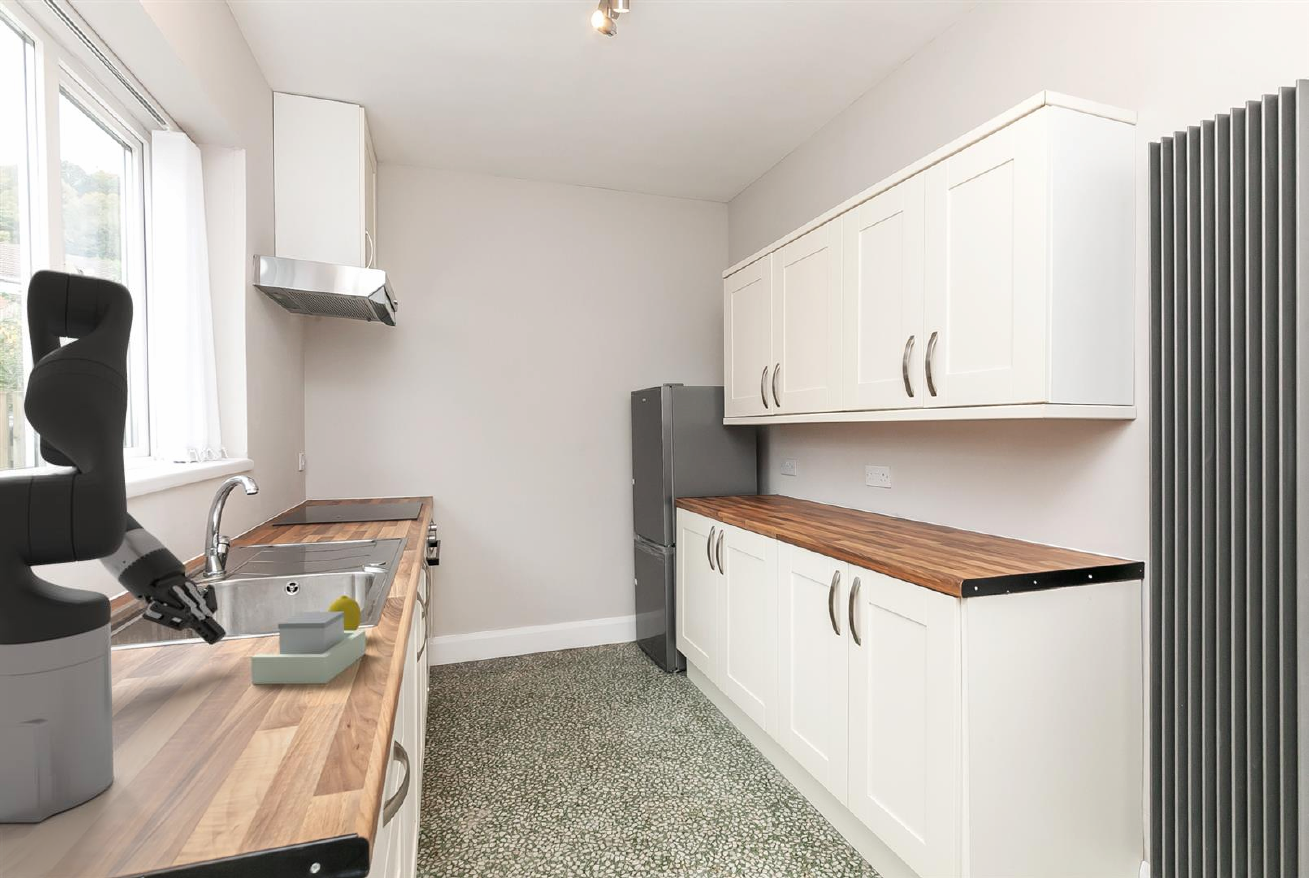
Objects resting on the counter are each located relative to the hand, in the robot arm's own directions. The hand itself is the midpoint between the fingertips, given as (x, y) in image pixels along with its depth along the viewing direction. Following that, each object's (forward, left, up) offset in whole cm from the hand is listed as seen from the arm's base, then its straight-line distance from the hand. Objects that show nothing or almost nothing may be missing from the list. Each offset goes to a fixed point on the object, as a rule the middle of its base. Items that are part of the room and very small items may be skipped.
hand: (219, 639), depth 99 cm
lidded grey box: (0, -15, -5) cm, 16 cm away
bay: (0, -15, -5) cm, 16 cm away
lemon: (+14, -13, -5) cm, 20 cm away
